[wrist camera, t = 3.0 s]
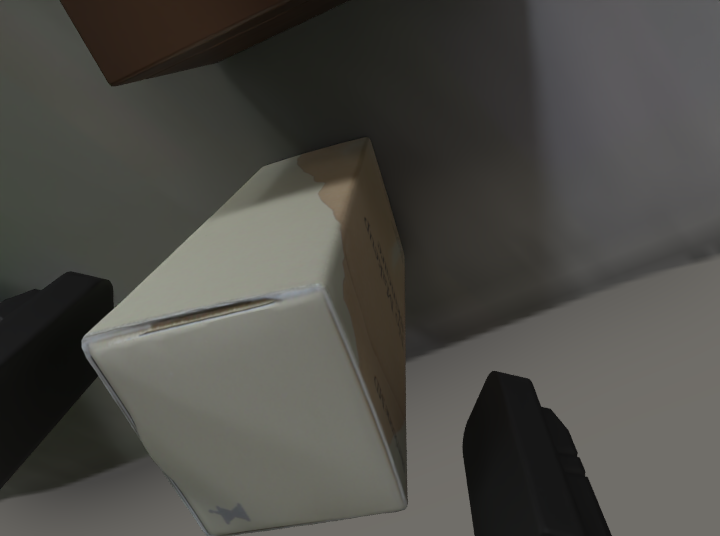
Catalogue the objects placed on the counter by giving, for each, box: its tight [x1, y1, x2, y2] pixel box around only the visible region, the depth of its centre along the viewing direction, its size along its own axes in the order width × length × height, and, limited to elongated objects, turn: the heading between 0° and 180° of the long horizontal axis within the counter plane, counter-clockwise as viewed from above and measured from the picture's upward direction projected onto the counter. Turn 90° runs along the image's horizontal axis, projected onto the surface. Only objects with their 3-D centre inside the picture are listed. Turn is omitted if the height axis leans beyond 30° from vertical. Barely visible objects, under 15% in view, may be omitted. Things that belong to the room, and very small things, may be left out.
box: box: [82, 137, 408, 536], centre depth 13 cm, size 5×4×11 cm
